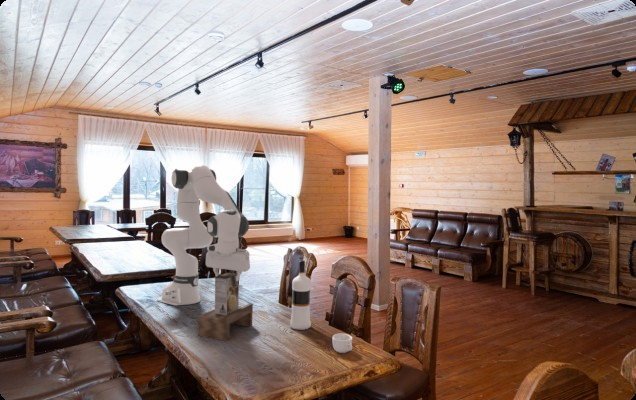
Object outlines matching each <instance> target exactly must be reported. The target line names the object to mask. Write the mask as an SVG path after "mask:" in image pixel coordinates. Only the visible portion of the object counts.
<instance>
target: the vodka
mask: <svg viewBox="0 0 636 400" xmlns="http://www.w3.org/2000/svg"><path fill="white" fill-rule="evenodd" d="M298 262H299V263H298V275H297V276H295V277H294V278H293V279H292V283H291V285H292V286H291V288H292V289H291V290H292V295H291V297H292V299H291V300H292V301H291V302H292V303H291V316H290V321H289V322H290V323H289V326H290V327H291V329H293V330H296V331H297V330H298V331H306V330H308V329H309V328H311V326H312V324H311V323H312V322H311V316H310V314H311V313H310V312H311V311H310V310H311V289H312V287H311V285H312V282H311V278H309V277H308V276H307V275H305V273H306V269H305V268H306V261H305V260H299V261H298ZM305 329H306V330H305Z"/></svg>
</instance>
